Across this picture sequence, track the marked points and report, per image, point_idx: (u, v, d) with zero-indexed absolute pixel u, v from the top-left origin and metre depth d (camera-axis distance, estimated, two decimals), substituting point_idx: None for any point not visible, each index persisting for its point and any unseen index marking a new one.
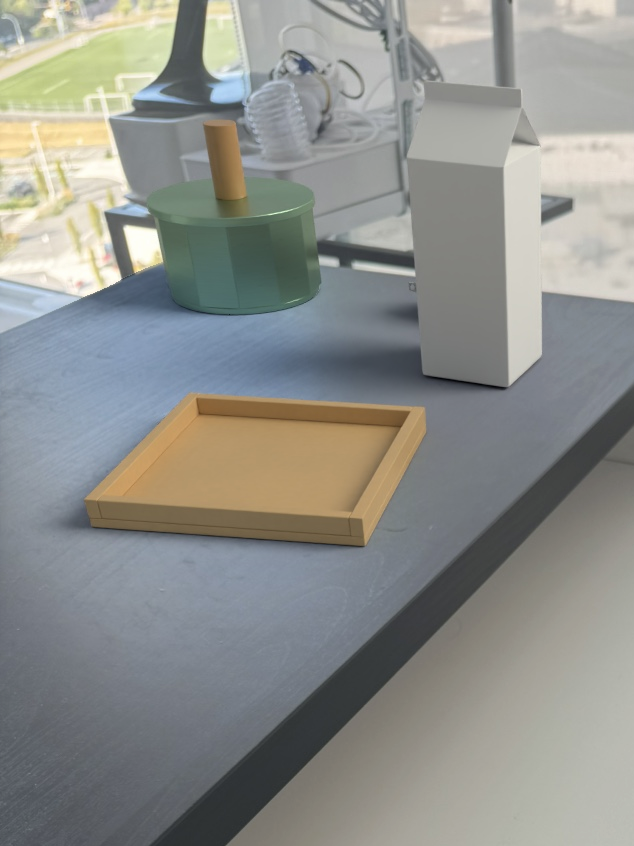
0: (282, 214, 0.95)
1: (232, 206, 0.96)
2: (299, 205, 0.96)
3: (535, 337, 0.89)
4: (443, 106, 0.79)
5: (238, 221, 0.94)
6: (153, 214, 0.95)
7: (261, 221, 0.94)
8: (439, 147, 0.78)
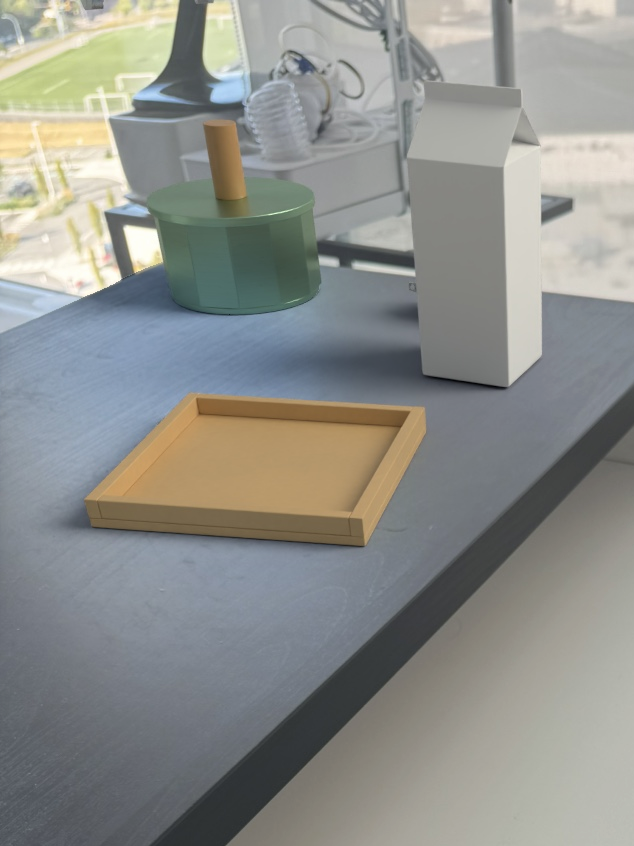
0: (282, 214, 0.95)
1: (232, 206, 0.96)
2: (299, 205, 0.96)
3: (535, 337, 0.89)
4: (443, 106, 0.79)
5: (238, 221, 0.94)
6: (153, 214, 0.95)
7: (261, 221, 0.94)
8: (439, 147, 0.78)
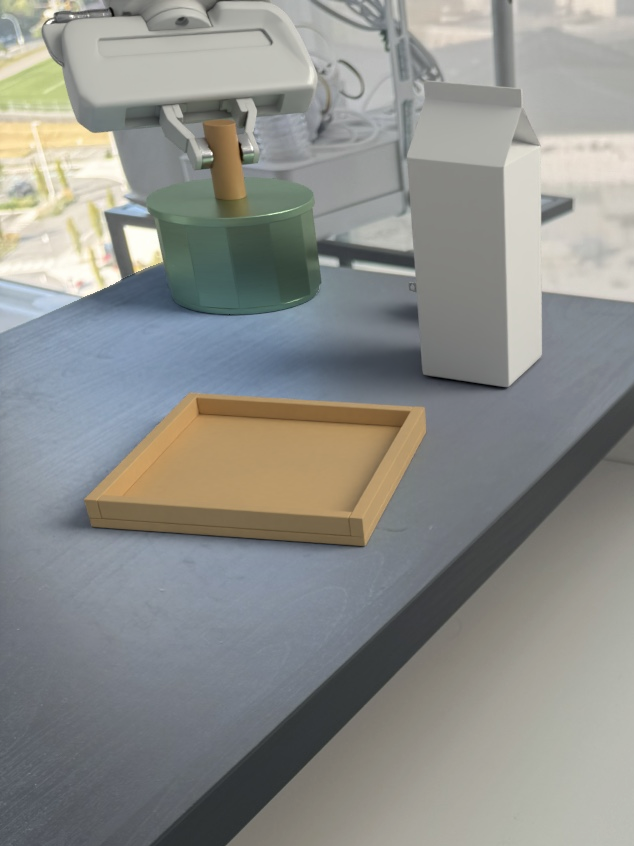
0: (282, 214, 0.95)
1: (232, 206, 0.96)
2: (299, 205, 0.96)
3: (535, 337, 0.89)
4: (443, 106, 0.79)
5: (238, 221, 0.94)
6: (153, 214, 0.95)
7: (261, 221, 0.94)
8: (439, 147, 0.78)
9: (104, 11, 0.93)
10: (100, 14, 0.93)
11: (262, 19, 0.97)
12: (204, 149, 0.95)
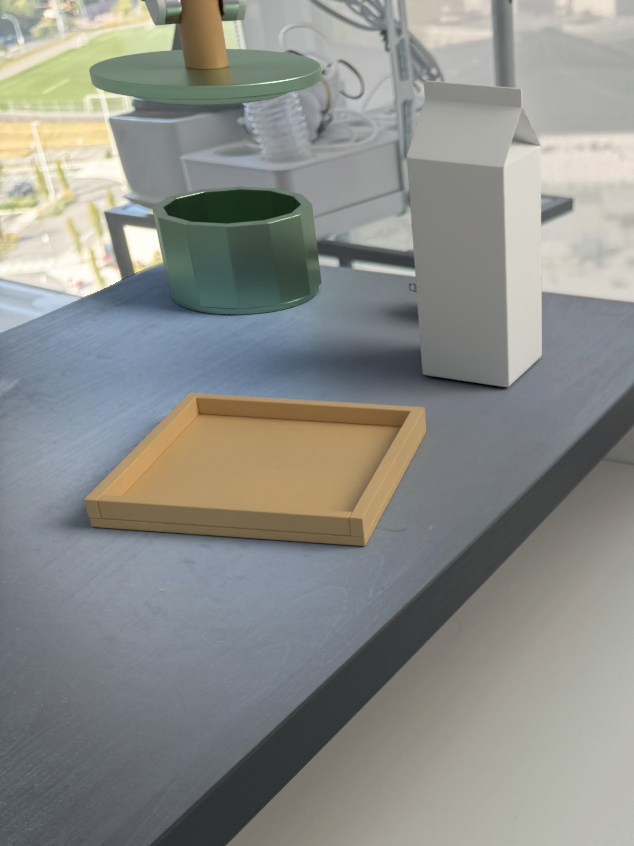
0: (278, 85, 0.69)
1: (208, 75, 0.69)
2: (300, 75, 0.70)
3: (535, 337, 0.89)
4: (443, 106, 0.79)
5: (216, 91, 0.67)
6: (98, 85, 0.69)
7: (248, 93, 0.68)
8: (439, 147, 0.78)
9: None
10: None
11: None
12: None
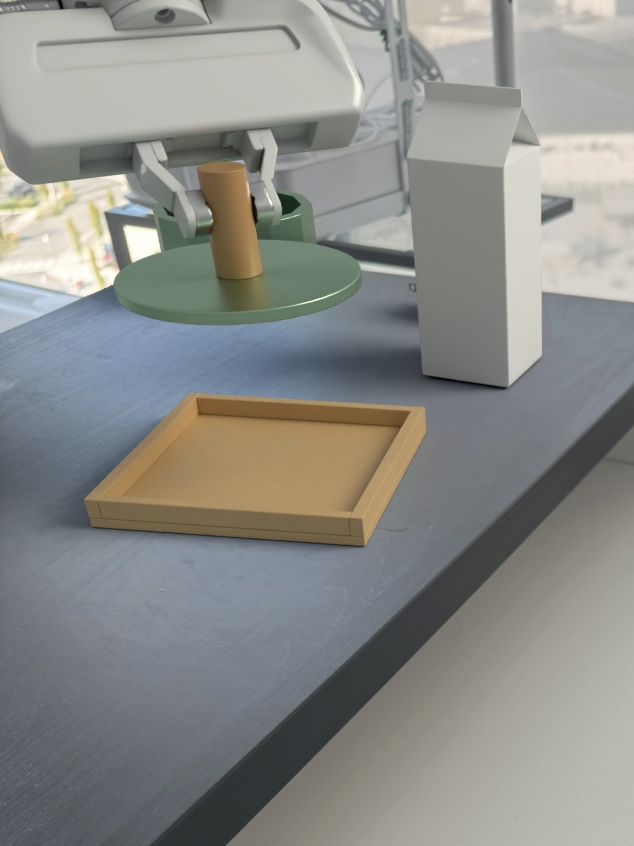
0: (316, 303, 0.64)
1: (241, 290, 0.64)
2: (340, 288, 0.65)
3: (535, 337, 0.89)
4: (443, 106, 0.79)
5: (250, 316, 0.62)
6: (123, 304, 0.64)
7: (285, 315, 0.63)
8: (439, 147, 0.78)
9: (48, 1, 0.62)
10: (41, 5, 0.62)
11: (284, 12, 0.66)
12: (199, 207, 0.63)
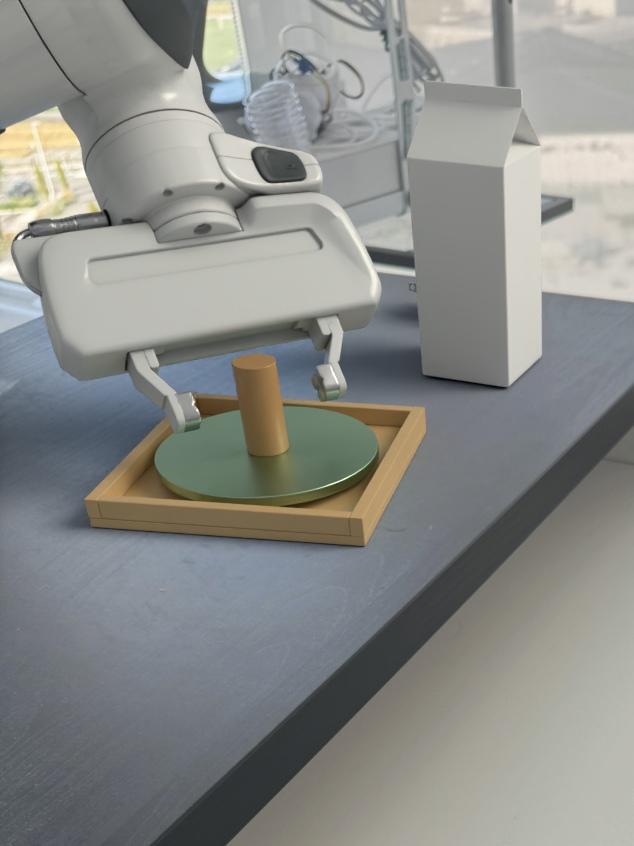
0: (339, 484, 0.70)
1: (270, 470, 0.71)
2: (360, 468, 0.72)
3: (535, 337, 0.89)
4: (443, 106, 0.79)
5: (280, 500, 0.69)
6: (164, 483, 0.71)
7: (311, 497, 0.69)
8: (439, 147, 0.78)
9: (97, 216, 0.69)
10: (91, 221, 0.69)
11: (308, 216, 0.73)
12: (188, 408, 0.69)
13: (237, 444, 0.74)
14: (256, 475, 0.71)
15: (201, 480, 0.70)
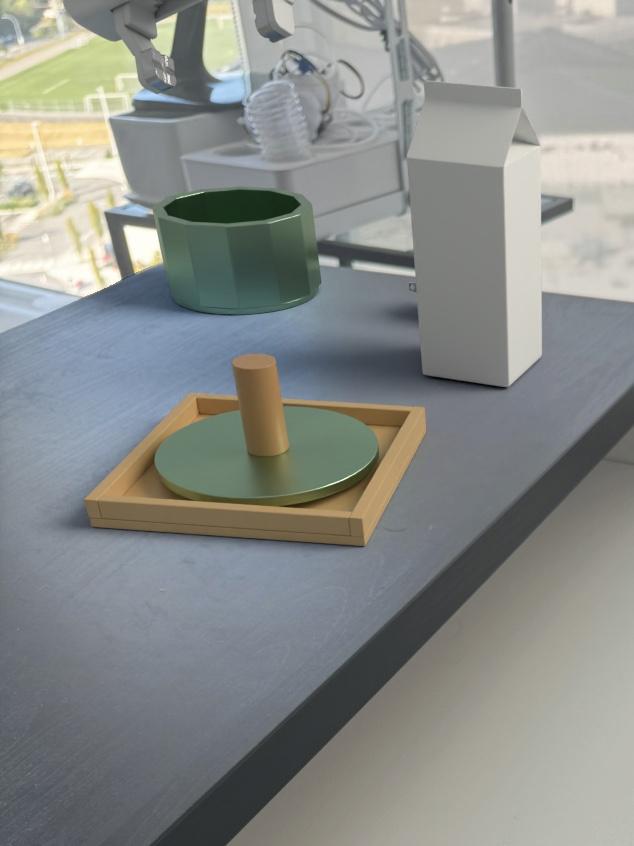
0: (339, 484, 0.70)
1: (270, 470, 0.71)
2: (360, 468, 0.72)
3: (535, 337, 0.89)
4: (443, 106, 0.79)
5: (280, 500, 0.69)
6: (164, 483, 0.71)
7: (311, 497, 0.69)
8: (439, 147, 0.78)
9: None
10: None
11: None
12: (148, 67, 0.71)
13: (237, 444, 0.74)
14: (256, 475, 0.71)
15: (201, 480, 0.70)
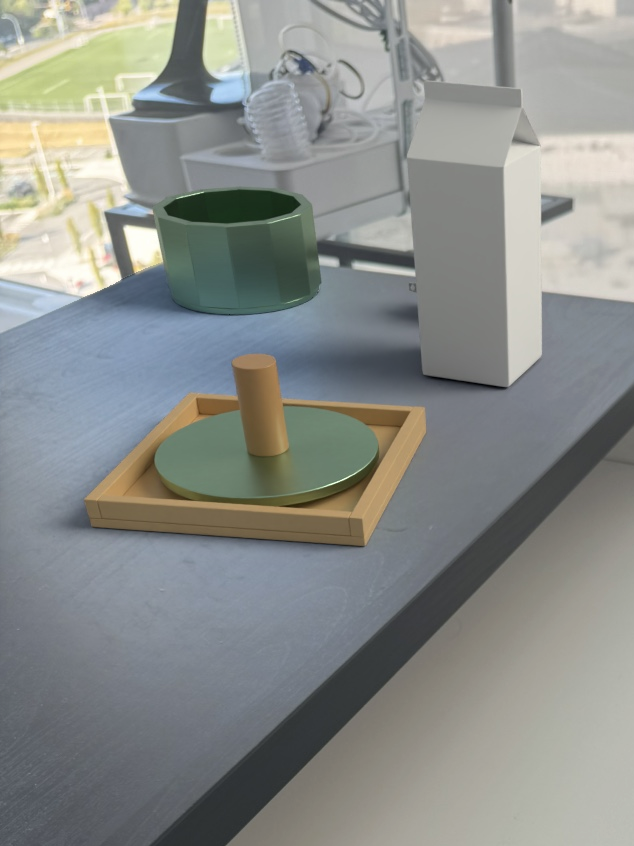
0: (339, 484, 0.70)
1: (270, 470, 0.71)
2: (360, 468, 0.72)
3: (535, 337, 0.89)
4: (443, 106, 0.79)
5: (280, 500, 0.69)
6: (164, 483, 0.71)
7: (311, 497, 0.69)
8: (439, 147, 0.78)
9: None
10: None
11: None
12: None
13: (237, 444, 0.74)
14: (256, 475, 0.71)
15: (201, 480, 0.70)
